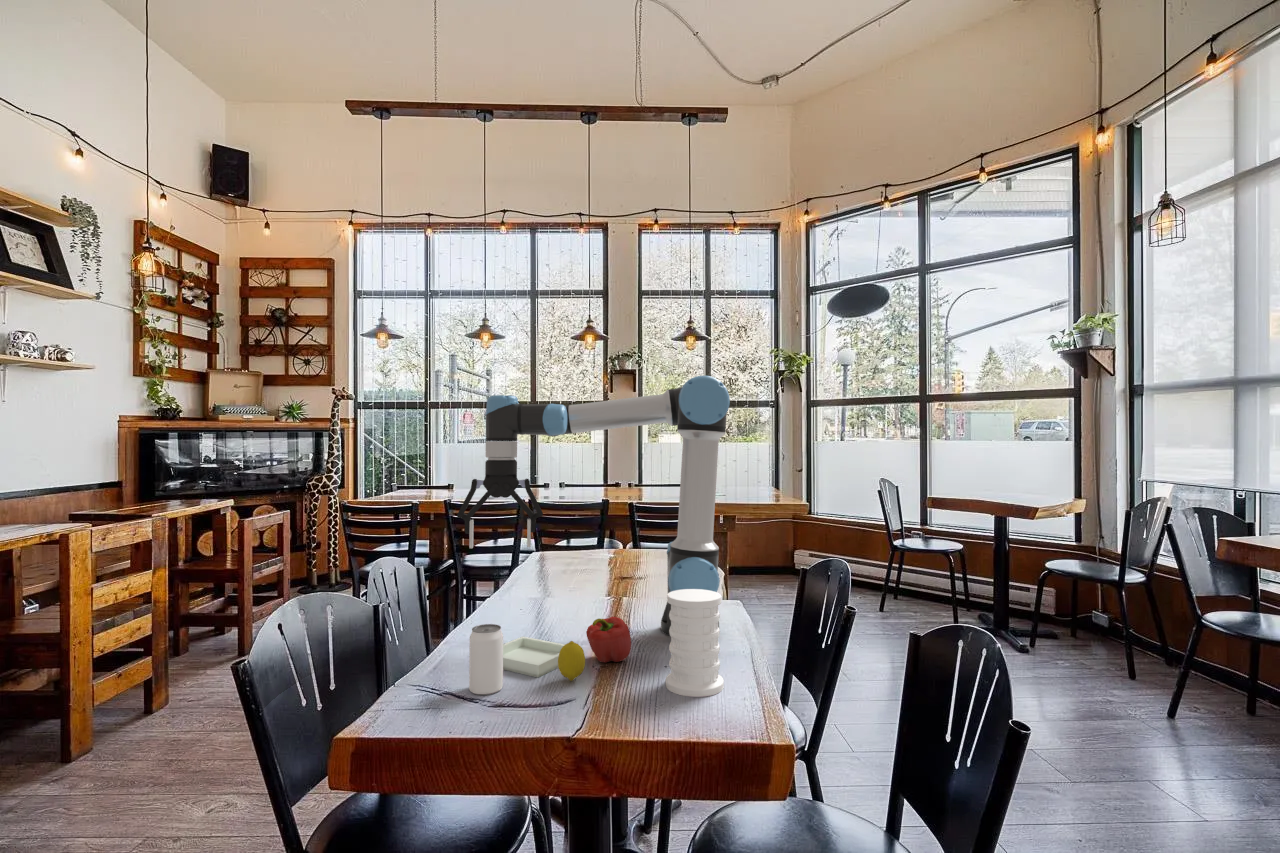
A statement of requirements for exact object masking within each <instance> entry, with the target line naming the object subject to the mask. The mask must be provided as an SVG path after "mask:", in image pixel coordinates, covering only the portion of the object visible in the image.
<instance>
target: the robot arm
mask: <svg viewBox="0 0 1280 853" xmlns="http://www.w3.org/2000/svg"><path fill="white" fill-rule="evenodd" d="M730 401H731V399H730V394H729V391H728V388H727V387H726V385H725V384H724V383H723V382H722V381H721V380H720V379H718V378H716V377H714V376H711V375H696V376H693V377H692V378H689V379H688V380H687V381H685V383H684V384H683V385H682V386H680V387H677V388H670V389H667V390H665V392H664V393H662V394H655V395H654V394H653V395H644V396H635V397H628V398H626V397H625V398H617V399H612V400H604V401H603V400H601V401H594V402H585V403H578V404H576V403H575V404H569V405H564V404H559V403H557V404H556V403H535V404H534V403H533V404H531V403H530V404H529V403H528V404H524V403H519V400H518V396H515V395H505V394H504V395H503V394H499V395H498V394H497V395H495V394H493V395H490V396H488V398H487V400H486V408H485V409H486V411H485V458H487V459H486V461H485V468H484V469H485V470H484V473H485V474H484V475H485V476H484V480H483V479H481V480H480V479H477V478H473V479H472V480H471V487H470V490H469V492H468V494H467V495H466V496H465V499H464V501H463V503H462V504H461V506H460V509H459V511H458V512H457V513H456V514H457V515H456V517H457V518H458V519H461V520H463V521H464V533H465V535H468V536H469V539H468V540H469V542H468V543H469V546H468V547H469V549H473V548H474V528H475V527H474V524H475V523H474V521H475V520H474V519H472V518H473V516H474V515H475V514H476V513H477V512H478V511H479V509H480V508H481V507H482V506H483V505H484V504H485V503H486V501H487V500H488V499H489V498H491V497H492V498H496V499H498V498H505V499H507V498H509V497H512V498H513V500H514V501H515V502H516V503H517V504H518V505H519V506H520V507H521V509H522V510H523V511H524V512H525V513H526V514H527V516H528V518H527V519H526V521H527V522H526V523H527V525H526V528H527V530H526V531H527V534H526V535H527V537H526V546H527V548H530V547H531V544H532V542H531V538H532V535H531V534H532V533H535V532H536V520H537V519H538V518H540V517H543V515H544V512H543V511H542V508H541V507H540V505H539V503H538V501H537V499H536V496H535V495H534V492H533V491H532V488H531V482H530V479H529V478H525V479H518V461H517V460H516V459H515V458H517V457H518V435H520V436H524V435H525V436H527V435H528V436H529V435H530V436H531V435H535V436H548V437H558V436H561V435H562V436H563V435H569V434H576V433H577V434H578V433H586V432H587V433H588V432H594V431H595V432H596V431H604V430H612V429H621V428H622V429H623V428H630V427H638V426H647V425H649V426H650V425H657V424H664V423H665V424H666V423H667V424H668V425H669V426H672V427H674V426H675V427H676V426H677V427H676V428H677V429H676V430H677V431H676V432H677V433H678V434H679V435H680V436H681V437H682V449H681V450H682V451H681V467H680V468H681V470H680V482H679V483H680V486H679V502H678V518H677V534H676V538H675V539H674V540H673V541H670V542H669V543H668V544H667V550H666V555H667V562H666V563H667V594H668V593H670V592H672V591H675V590H682V589H703V590H710V591H714V592H717V593H718V590H719V587H720V581H721V580H720V577H719V576H720V574H719V572H718V571H719V555H720V554H719V553H720V548H719V547H720V546H718V545H717V543H715V541H714V531H715V530H714V528H715V527H714V526H715V508H716V495H717V494H716V493H717V492H716V491H717V474H718V462H719V461H718V457H719V442H720V439H722V437H724V435H726V428H727V415H728V414H727V413H728V410H729V408H730V404H731V403H730ZM482 485H483V487H484V488H485V490H486V492H485V493H484V494H483V496H482V497H481V498H480V499H479V500H478V501H477V503H475V505H474V506H473V507H472V508H471V509H470V510H469V512H468V513H465V512H466V510H467V509H468V506H469V504H470V503H471V501H472V499H473V497H474V495H475V494H476V491H477V489H480V487H481V486H482ZM519 485H520V486H521V489H522V488H523V489H525V491H526V493H527V495H528V497H529V500H530V502H531V504H532V505H533V507H534V509H535V512H534V511H532V509H531V508H530V507H529V506H528V505H527V503H525V501H524V500H523V499H522V498H521V497H520V495H519V494H518V493H517V492H516V489H517V488H518V487H519ZM663 610H664V611H663V613H662V617H661V620H660V631H661V632H662V633H663V634H665V635H667V636H670V633H669V629H670V626H671V620H670V617H669V613H670V610H671V604H669V603H668V602H667V601H666V603H665V608H664V609H663ZM718 627H719V628H720V620H719V621H718Z"/></svg>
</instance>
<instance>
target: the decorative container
mask: <svg viewBox="0 0 1280 853" xmlns="http://www.w3.org/2000/svg"><path fill="white" fill-rule="evenodd" d="M666 596H667V597H666V598H667V600H666V603H667V602H668V603H669V604H671V610H670V613H669V617H670V620H671V626H670V629H669V633H670V635H669V636H670V642H669V646H668V649H669V652H670V655H671V656H670V658H669V663H668V665H669V669H670V670H671V671H670V673H669V674H668V675H667V676H666V677H665V687H666V689H667V690H668V691H669V692H671V693H673V694H675V695H680V696H682V697H687V698H688V697H689V698H690V697H691V698H704V697H710V696H714V695H717V694H719V693H721V692H722V691H723V690H724V687H725V684H724V683H725V682H724V681H725V680H724V678H723V676H721V675H720V674H719V671H720V666H721V663H720V659H719V654H720V650H721V645H720V643H719V638H720V634H721V630H720V626H719V627H718V621H719V622H720V617H721V614H720V611H719V605H721V604H722V594H721V593H719V592H718V591H717V592H714V591H710V590H703V589H682V590H675V591H672V592H670V593H668V592H667V595H666Z"/></svg>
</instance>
